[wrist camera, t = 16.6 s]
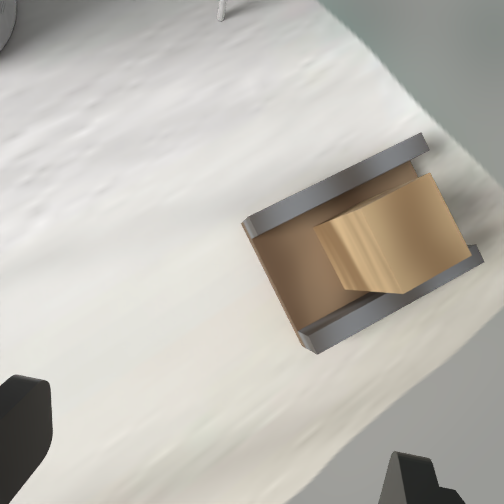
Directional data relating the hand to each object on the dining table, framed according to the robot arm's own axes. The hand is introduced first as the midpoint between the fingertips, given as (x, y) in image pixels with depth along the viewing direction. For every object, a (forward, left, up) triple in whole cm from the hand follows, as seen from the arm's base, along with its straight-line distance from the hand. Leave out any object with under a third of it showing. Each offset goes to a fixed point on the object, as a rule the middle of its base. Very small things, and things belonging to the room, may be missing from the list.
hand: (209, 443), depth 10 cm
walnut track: (+5, +11, -19) cm, 22 cm away
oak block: (+5, +11, -18) cm, 21 cm away
